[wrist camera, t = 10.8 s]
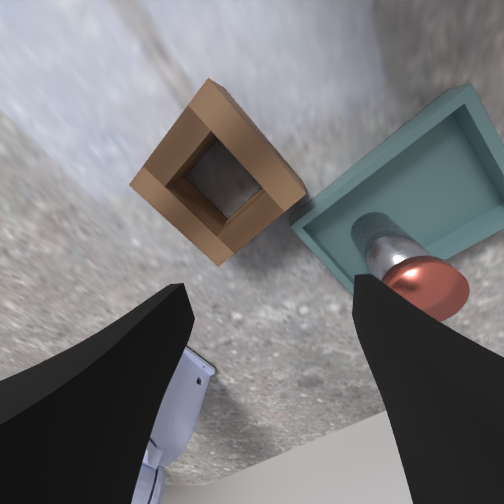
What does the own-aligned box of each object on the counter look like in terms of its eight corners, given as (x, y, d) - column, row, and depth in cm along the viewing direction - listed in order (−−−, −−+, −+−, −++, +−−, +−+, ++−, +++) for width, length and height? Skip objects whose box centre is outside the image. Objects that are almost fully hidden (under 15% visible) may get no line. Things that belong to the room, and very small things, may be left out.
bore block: (302, 181, 18) (306, 193, 14) (228, 245, 21) (218, 266, 18) (224, 87, 15) (208, 77, 12) (155, 174, 19) (128, 185, 15)
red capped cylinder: (405, 232, 18) (484, 301, 11) (365, 258, 19) (411, 335, 12) (379, 199, 17) (445, 252, 10) (338, 230, 18) (371, 294, 11)
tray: (510, 201, 16) (537, 210, 15) (355, 290, 21) (361, 305, 19) (448, 89, 14) (471, 84, 12) (289, 217, 19) (289, 227, 17)
